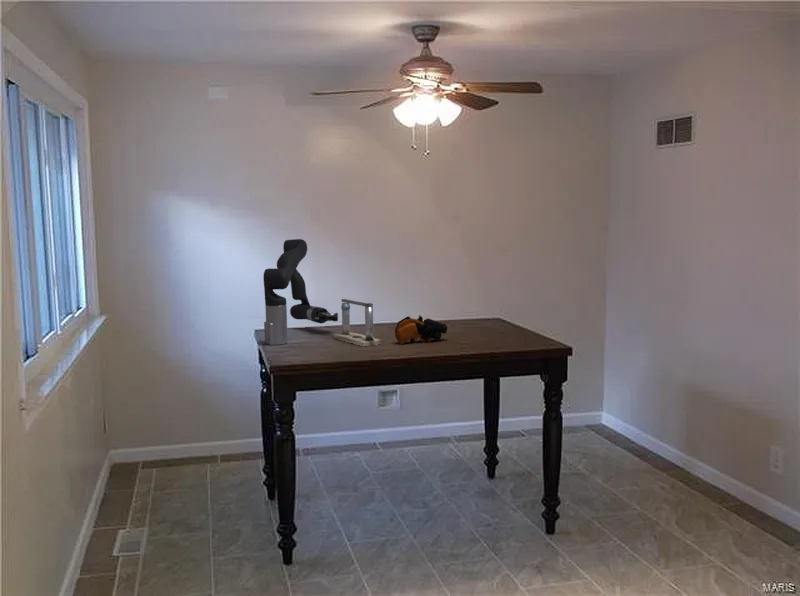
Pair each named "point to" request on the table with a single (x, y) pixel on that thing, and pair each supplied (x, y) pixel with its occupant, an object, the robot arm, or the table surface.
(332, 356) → the table surface
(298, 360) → the table surface
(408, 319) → the tool
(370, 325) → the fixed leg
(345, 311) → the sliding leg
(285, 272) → the robot arm
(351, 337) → the hole board
